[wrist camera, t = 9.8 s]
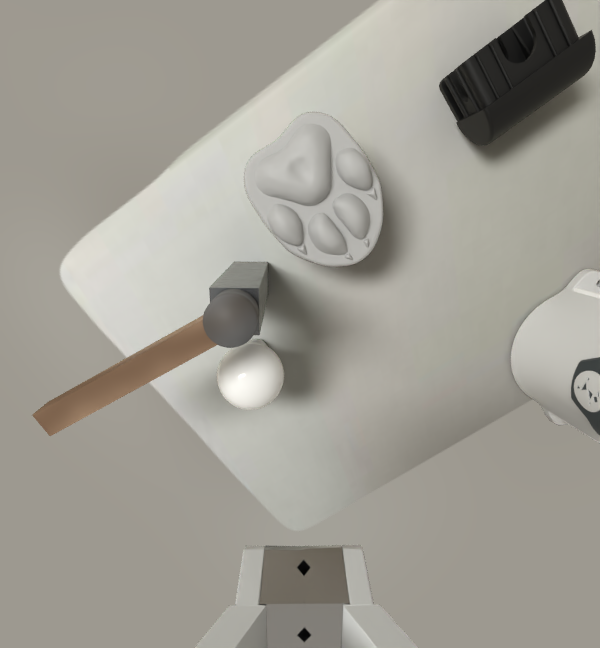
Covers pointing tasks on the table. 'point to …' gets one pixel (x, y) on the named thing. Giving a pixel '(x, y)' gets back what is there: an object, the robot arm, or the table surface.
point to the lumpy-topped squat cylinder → (317, 192)
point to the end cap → (518, 72)
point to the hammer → (156, 359)
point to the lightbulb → (250, 375)
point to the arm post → (245, 284)
